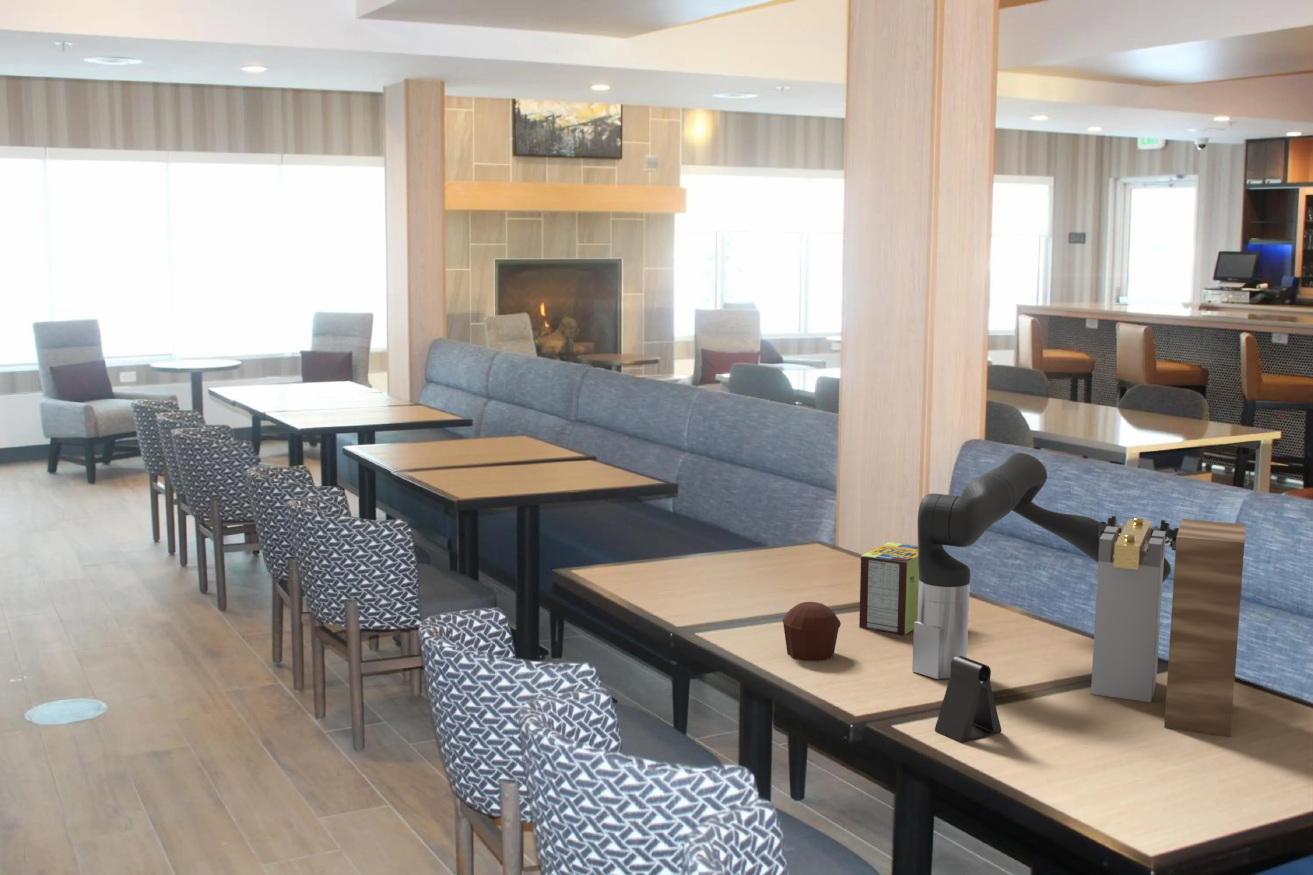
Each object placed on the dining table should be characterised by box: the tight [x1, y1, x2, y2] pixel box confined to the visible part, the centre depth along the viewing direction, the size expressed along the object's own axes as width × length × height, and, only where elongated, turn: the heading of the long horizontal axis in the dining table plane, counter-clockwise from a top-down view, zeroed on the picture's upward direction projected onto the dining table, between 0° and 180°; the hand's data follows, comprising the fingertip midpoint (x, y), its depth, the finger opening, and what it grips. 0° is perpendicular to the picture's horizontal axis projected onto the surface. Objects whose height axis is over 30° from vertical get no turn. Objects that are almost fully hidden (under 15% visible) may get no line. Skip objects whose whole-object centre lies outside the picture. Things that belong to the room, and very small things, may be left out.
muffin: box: [781, 601, 842, 662], centre depth 251 cm, size 12×11×10 cm
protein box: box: [858, 541, 919, 636], centre depth 272 cm, size 10×15×16 cm
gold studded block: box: [1114, 517, 1152, 570], centre depth 232 cm, size 24×4×5 cm, turn 155°
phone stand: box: [934, 656, 1002, 744], centre depth 210 cm, size 9×6×12 cm, turn 121°
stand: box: [1164, 518, 1246, 738], centre depth 216 cm, size 16×10×32 cm, turn 155°
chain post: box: [1090, 526, 1166, 703], centre depth 231 cm, size 12×10×28 cm
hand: (1137, 522), depth 237 cm, fingers open, 8 cm apart
